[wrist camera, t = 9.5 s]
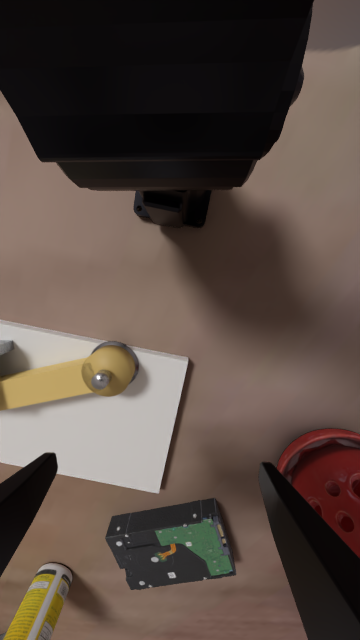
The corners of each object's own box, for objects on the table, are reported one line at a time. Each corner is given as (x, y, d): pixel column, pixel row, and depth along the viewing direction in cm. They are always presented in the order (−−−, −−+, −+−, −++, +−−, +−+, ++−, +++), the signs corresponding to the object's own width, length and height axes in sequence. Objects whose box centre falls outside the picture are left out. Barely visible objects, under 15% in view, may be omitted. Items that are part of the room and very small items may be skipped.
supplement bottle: (33, 574, 28) (-46, 725, 19) (49, 555, 27) (-27, 705, 18) (63, 589, 29) (1, 744, 19) (80, 572, 28) (23, 726, 18)
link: (128, 340, 18) (121, 347, 16) (140, 381, 19) (135, 391, 17) (-17, 372, 19) (-37, 381, 18) (1, 409, 20) (-16, 421, 19)
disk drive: (137, 561, 28) (233, 546, 26) (131, 592, 25) (238, 578, 23) (111, 511, 26) (214, 492, 24) (102, 538, 23) (217, 519, 21)
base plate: (-45, 310, 20) (-57, 312, 19) (188, 357, 20) (188, 361, 19) (-35, 446, 23) (-45, 453, 22) (159, 484, 23) (158, 493, 22)
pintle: (92, 336, 18) (71, 348, 15) (142, 346, 19) (132, 360, 15) (87, 381, 20) (67, 402, 16) (135, 391, 20) (124, 413, 16)
